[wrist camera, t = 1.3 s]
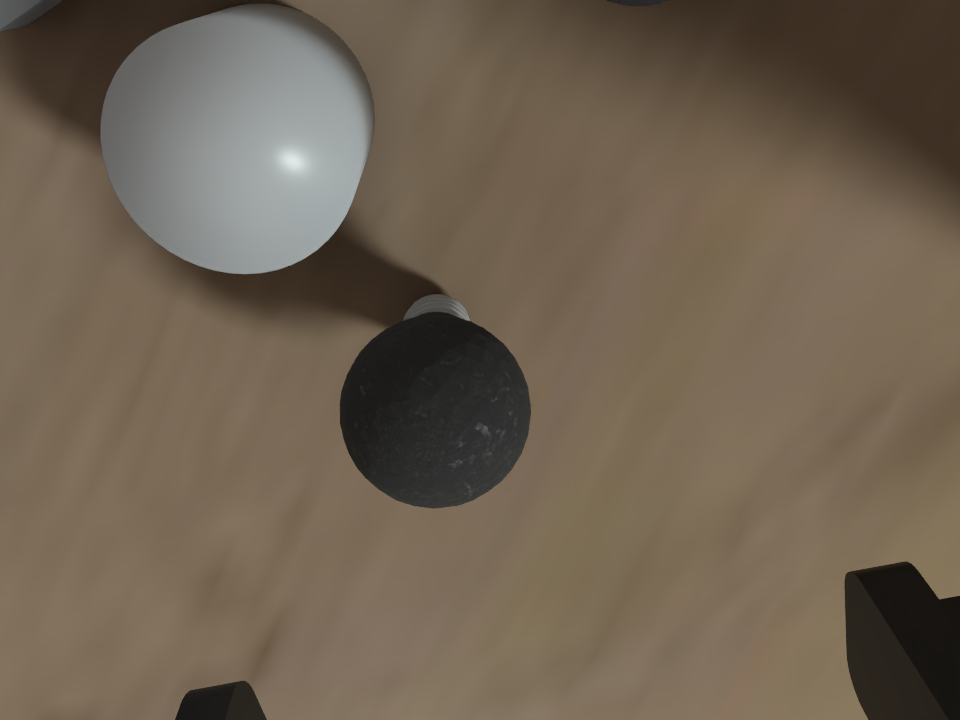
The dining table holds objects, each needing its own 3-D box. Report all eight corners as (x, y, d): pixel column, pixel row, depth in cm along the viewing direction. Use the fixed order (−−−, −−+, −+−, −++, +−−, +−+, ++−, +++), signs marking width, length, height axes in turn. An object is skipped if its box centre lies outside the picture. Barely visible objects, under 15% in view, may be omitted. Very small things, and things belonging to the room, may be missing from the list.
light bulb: (446, 212, 30) (448, 328, 21) (543, 325, 32) (582, 474, 23) (329, 307, 31) (283, 454, 22) (428, 409, 33) (423, 581, 24)
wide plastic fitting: (297, -41, 26) (260, -37, 21) (413, 151, 29) (406, 199, 24) (122, 74, 28) (44, 106, 22) (249, 248, 30) (207, 314, 25)
